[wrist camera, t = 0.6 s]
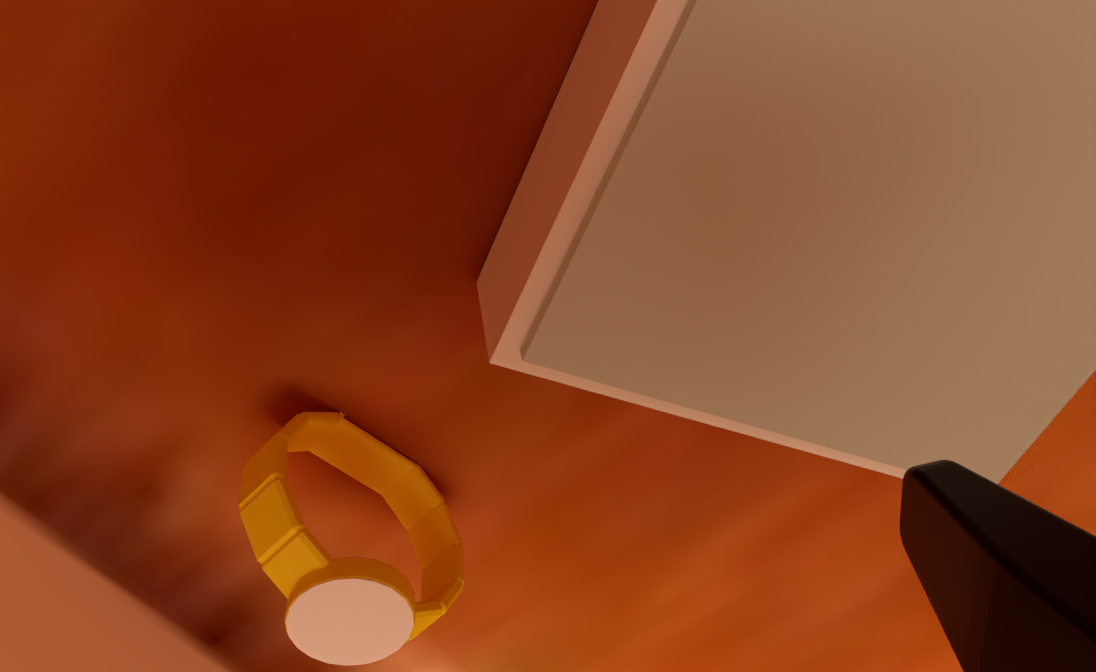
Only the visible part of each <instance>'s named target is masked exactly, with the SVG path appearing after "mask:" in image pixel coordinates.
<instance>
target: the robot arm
mask: <svg viewBox="0 0 1096 672" xmlns="http://www.w3.org/2000/svg"><path fill="white" fill-rule="evenodd" d="M900 535H901V539H902V543H903V546H904V549H905V551H906V553H907V555H908V557H909V559H910V561H911V564H912V566H913V568H914V570H915V572H916V574H917V576H918V578H919V580H920V582H921V584H922V586H923V588H924V590H925V593H926V595H927V597H928V599H929V601H930V603H931V605H932V607H933V609H934V611H935V613H936V615H937V617H938V620H939V622H940V624H941V626H942V628H943V630H944V632H945V634H946V636H947V638H948V640H949V642H950V644H951V647H952V649H953V651H954V653H955V655H956V657H957V659H958V661H959V663H960V665H961V667H962V669H963V671H964V672H1096V536H1094V535H1092V534H1091V533H1089V532H1087V531H1085V530H1083V529H1081V528H1079V527H1077V526H1075V525H1074V524H1072V523H1070V522H1068V521H1066V520H1064V519H1062V518H1060V517H1058V516H1057V515H1055V514H1053V513H1051V512H1049V511H1047V510H1045V509H1043V508H1041V507H1040V506H1038V505H1036V504H1034V503H1032V502H1030V501H1028V500H1026V499H1024V498H1023V497H1021V496H1019V495H1017V494H1015V493H1013V492H1011V491H1009V490H1008V489H1006V488H1004V487H1002V486H1000V485H998V484H996V483H994V482H992V481H991V480H989V479H987V478H985V477H983V476H981V475H979V474H977V473H975V472H974V471H972V470H970V469H968V468H966V467H964V466H962V465H960V464H958V463H956V462H954V461H950V460H938V461H934V462H929V463H925V464H921V465H917V466H913V467H911V468H909V469H907V471H906V472H905V474H904V477H903V485H902V499H901V513H900Z"/></svg>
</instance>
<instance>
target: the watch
mask: <svg viewBox="0 0 1096 672" xmlns="http://www.w3.org/2000/svg"><path fill="white" fill-rule="evenodd" d="M344 416H345V415H344V414H343V413H342V412H340V413H339V414H338V412H302V413H301V414H297V415H296V416H295V417H293V418H292V419H291V420H290V421H289V422H288V423H287V424H286V425H285V426H284V427H282V428H281V429H280V430H279V431H278V432H277V433H276V434H275V435H274V436H273V437H272V438H271V439H270V440H269V441H268V442H267V443H266V444H264V445H263V446H262V447H261V448H260V449H259V450H258V451H257V452H256V453H255V454H254V455H253V456H252V457H251V458H250V459H249V460H248V461H247V462H246V463H245V465H246V466H245V467H243V471H242V479H241V488H240V496H239V505H238V506H239V510H241V512H240V516H241V519H242V521H243V524H244V527H245V529H246V532H247V535H248V537H249V540H250V543H251V545H252V548H253V551H254V553H255V556H256V559H257V561H258V562H259V563H262V570H263V571H264V572H265V573H266V574H267V576H268V577H269V578H270V579H271V580H272V581H273V583H274V584H275V585H276V586H277V587H278V588H279V590H280V591H281V592H282V593H283V594H284V596H285V597H286V598H287V599H288V602H287V608H286V614H285V625H286V630H287V634H288V636H289V637H290V639H291V640H292V642H293V643H294V644H295V646H296V647H297V648H298V649H300V650H301V651H303V652H304V653H305V654H307V655H308V656H310V657H312V658H314V659H317V660H320V661H323V662H325V663H329V664H337V665H345V666H349V665H361V664H368V663H371V662H374V661H378V660H381V659H384V658H386V657H387V656H389V655H391V654H392V653H394V652H396V651H397V650H399V649H400V648H401V647H402V646H403V644H404V643H406V642H408V641H409V640H412V639H413V638H414V637H416V636H417V635H418V634H419V633H421V632H422V631H423V630H424V629H426V628H427V627H428V626H429V625H431V624H432V623H433V622H434V621H436V620H437V619H438V618H439V617H441V616H442V615H443V614H444V613H446V612H447V610H448V609H449V607H450V606H451V605H452V603H453V602H454V601H455V599H456V598H457V597H458V595H459V594H460V592H461V591H462V590H463V585H464V550H463V547H462V540H461V538H460V535H459V533H458V530H457V528H456V525H455V523H454V520H453V518H452V515H451V513H450V510H449V508H448V505H446V504H444V498H443V497H442V496H441V494H440V493H439V492H438V490H437V489H436V488H435V486H434V485H433V484H432V482H431V481H430V479H429V478H428V477H427V475H426V474H425V473H424V471H423V470H422V469H421V467H420V466H419V465H417V464H415V463H414V462H412V461H411V460H409V459H407V458H406V457H404V456H403V455H401V454H400V453H398V452H397V451H395V450H393V449H392V448H390V447H389V446H387V445H386V444H384V443H382V442H381V441H379V440H378V439H376V438H375V437H373V436H372V435H370V434H368V433H367V432H365V431H364V430H362V429H361V428H359V427H358V426H356V425H354V424H353V423H351V422H350V421H348V420H347V419H345V418H343V417H344ZM301 451H309V452H311V453H313V454H314V455H316V456H318V457H319V458H321V459H323V460H324V461H326V462H328V463H329V464H331V465H333V466H334V467H336V468H338V469H339V470H341V471H343V472H344V473H346V474H348V475H349V476H351V477H353V478H354V479H356V480H358V481H359V482H361V483H362V484H364V485H366V486H367V487H369V488H371V489H372V490H374V491H376V492H377V493H379V494H381V495H382V496H383V498H384V499H385V500H386V502H387V503H388V505H389V506H390V507H391V509H392V510H393V512H394V513H395V514H396V516H397V517H398V519H399V520H400V521H401V523H402V524H403V525H404V527H405V528H406V530H407V531H408V532H409V536H410V539H411V541H412V544H413V547H414V550H415V553H416V555H417V558H418V561H419V564H420V566H421V569H422V586H421V602H417V603H415V593H414V590H413V588H412V586H411V584H410V583H409V581H408V579H407V578H406V577H405V576H404V575H403V574H401V573H400V572H399V571H398V570H397V569H395V568H394V567H392V566H390V565H388V564H385V563H383V562H380V561H378V560H374V559H368V558H362V557H346V558H336V559H332V558H331V556H330V555H329V554H328V553H327V552H326V551H325V549H324V548H323V547H322V546H321V545H320V543H319V542H318V541H317V540H316V539H315V538H314V536H313V535H312V534H311V533H310V532H309V531H308V529H305V525H304V522H303V520H302V517H301V515H300V512H299V510H298V508H297V505H296V503H295V500H294V498H293V496H292V493H291V491H290V488H289V486H288V483H287V481H286V474H287V457H288V452H301Z"/></svg>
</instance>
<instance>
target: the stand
mask: <svg viewBox="0 0 1096 672" xmlns="http://www.w3.org/2000/svg"><path fill="white" fill-rule="evenodd" d="M477 288H478V294H479V301H480V307H481V314H482V320H483V327H484V333H485V340H486V346H487V353H488V359H489V363H491V364H494V365H498V366H502V367H505V368H509V369H512V370H516V371H519V372H523V373H527V374H530V375H534V376H537V377H541V378H545V379H548V380H552V381H555V382H559V383H562V384H566V385H570V386H573V387H577V388H580V389H584V390H587V391H591V392H595V393H598V394H602V395H605V396H609V397H613V398H616V399H620V400H623V401H627V402H630V403H634V404H638V405H641V406H645V407H648V408H652V409H655V410H659V411H663V412H666V413H670V414H673V415H677V416H681V417H684V418H688V419H691V420H695V421H698V422H702V423H706V424H709V425H713V426H716V427H720V428H724V429H727V430H731V431H734V432H738V433H741V434H745V435H749V436H752V437H756V438H759V439H763V440H766V441H770V442H774V443H777V444H781V445H784V446H788V447H792V448H795V449H799V450H802V451H806V452H809V453H813V454H817V455H820V456H824V457H827V458H831V459H834V460H838V461H842V462H845V463H849V464H852V465H856V466H860V467H863V468H867V469H870V470H874V471H877V472H881V473H885V474H888V475H892V476H895V477H899V478H902V479H903V477H904V474H905V472H906V471H907V469H909V468H911V467H913V466H917V465H921V464H925V463H929V462H934V461H938V460H950V461H954V462H956V463H958V464H960V465H962V466H964V467H966V468H968V469H970V470H972V471H974V472H975V473H977V474H979V475H981V476H983V477H985V478H987V479H989V480H991V481H992V482H994V483H996V484H998V483H999V482H1000V480H1001V479H1002V478H1003V477H1004V476H1005V475H1006V473H1007V472H1008V471H1009V470H1010V469H1011V468H1012V466H1013V465H1014V464H1015V463H1016V462H1017V461H1018V459H1019V458H1020V457H1021V456H1022V455H1023V454H1024V453H1025V451H1026V450H1027V449H1028V448H1029V447H1030V446H1031V444H1032V443H1033V442H1034V441H1035V440H1036V439H1037V437H1038V436H1039V435H1040V434H1041V433H1042V432H1043V430H1044V429H1045V428H1046V427H1047V426H1048V425H1049V423H1050V422H1051V421H1052V420H1053V419H1054V418H1055V416H1056V415H1057V414H1058V413H1059V412H1060V411H1061V409H1062V408H1063V407H1064V406H1065V405H1066V404H1067V402H1068V401H1069V400H1070V399H1071V398H1072V397H1073V395H1074V394H1075V393H1076V392H1077V391H1078V390H1079V388H1080V387H1081V386H1082V385H1083V384H1084V383H1085V381H1086V380H1087V379H1088V378H1089V377H1090V376H1091V375H1092V373H1093V372H1094V371H1095V370H1096V0H598V3H597V5H596V7H595V10H594V12H593V14H592V16H591V19H590V21H589V23H588V26H587V28H586V30H585V33H584V35H583V37H582V40H581V42H580V44H579V46H578V49H577V51H576V53H575V56H574V58H573V60H572V63H571V65H570V67H569V70H568V72H567V74H566V76H565V79H564V81H563V83H562V86H561V88H560V90H559V93H558V95H557V97H556V100H555V102H554V104H553V106H552V109H551V111H550V113H549V116H548V118H547V120H546V123H545V125H544V127H543V130H542V132H541V134H540V136H539V139H538V141H537V143H536V146H535V148H534V150H533V153H532V155H531V157H530V160H529V162H528V164H527V166H526V169H525V171H524V173H523V176H522V178H521V180H520V183H519V185H518V187H517V190H516V192H515V194H514V197H513V199H512V201H511V203H510V206H509V208H508V210H507V213H506V215H505V217H504V220H503V222H502V224H501V227H500V229H499V231H498V233H497V236H496V238H495V240H494V243H493V245H492V247H491V250H490V252H489V254H488V257H487V259H486V261H485V263H484V266H483V268H482V270H481V273H480V275H479V277H478V280H477Z"/></svg>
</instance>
